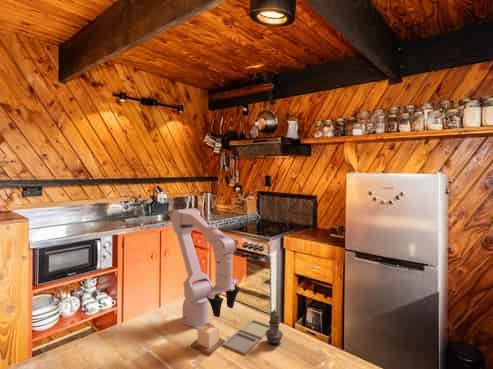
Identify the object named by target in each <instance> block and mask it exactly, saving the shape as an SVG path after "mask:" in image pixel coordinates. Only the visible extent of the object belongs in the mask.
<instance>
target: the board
mask: <svg viewBox="0 0 493 369" xmlns="http://www.w3.org/2000/svg"><path fill="white" fill-rule="evenodd" d="M225 341H226V340H225V339H223V338H222V337H219V341H218V342H217V343H216V344H215V345H213V346H212V347H211V348H207V347H204V346H202V345H200V344H198V338H197V339H196V340H194V341H193V342H192V343H191V344H190V347H191V349H194V350H196V351H199V352H201V353H203V354H206V355H207V356H211V355H212V354H213V353H214V352H215V351H216V350H218V348H220V347H221V346H223V343H224V342H225Z"/></svg>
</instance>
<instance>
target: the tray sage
mask: <svg viewBox="0 0 493 369" xmlns="http://www.w3.org/2000/svg"><path fill="white" fill-rule="evenodd" d="M269 329H270V324H269V323H267V322H264V321H260V320H258V319H255V318H251V319H250V320H249V321H248V322H247V323H245V324H244V325H243V326H242V327H241V328H239V332H241V333H244V334H247V335H249V336H252V337H255V338H257V339H260V340H263V339H264V338H265V337H266V334H265V332H266V331H267V330H269Z"/></svg>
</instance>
